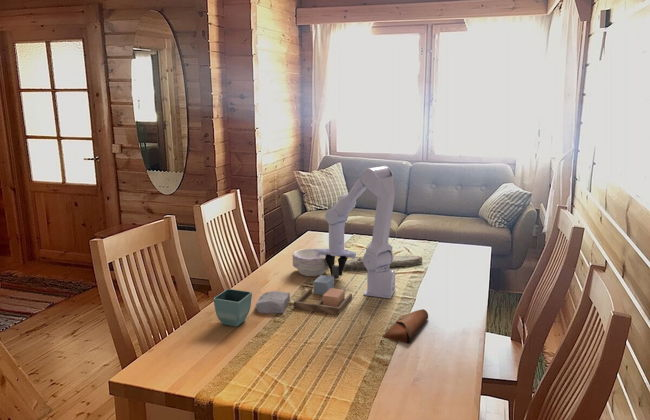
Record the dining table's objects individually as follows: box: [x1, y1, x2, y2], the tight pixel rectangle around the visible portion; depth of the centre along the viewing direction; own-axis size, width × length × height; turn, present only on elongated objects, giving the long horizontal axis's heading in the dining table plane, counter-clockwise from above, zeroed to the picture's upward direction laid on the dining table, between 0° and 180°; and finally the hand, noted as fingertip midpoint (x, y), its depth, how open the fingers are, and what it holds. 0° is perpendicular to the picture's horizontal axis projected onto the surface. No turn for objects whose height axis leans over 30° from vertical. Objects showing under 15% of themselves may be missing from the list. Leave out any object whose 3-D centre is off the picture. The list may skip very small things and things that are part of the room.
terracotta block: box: [322, 287, 346, 307], centre depth 170 cm, size 5×7×4 cm
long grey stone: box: [343, 254, 423, 272], centre depth 209 cm, size 35×5×10 cm
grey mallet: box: [313, 264, 340, 296], centre depth 186 cm, size 5×17×5 cm, turn 160°
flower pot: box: [212, 288, 253, 328], centre depth 157 cm, size 9×9×9 cm
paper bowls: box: [292, 248, 330, 277], centre depth 201 cm, size 15×15×8 cm
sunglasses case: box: [382, 308, 429, 344], centre depth 153 cm, size 18×7×7 cm
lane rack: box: [293, 288, 353, 316], centre depth 172 cm, size 15×14×2 cm
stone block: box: [255, 290, 291, 314], centre depth 170 cm, size 12×5×10 cm
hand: (336, 274), depth 194 cm, fingers closed on grey mallet, 2 cm apart
